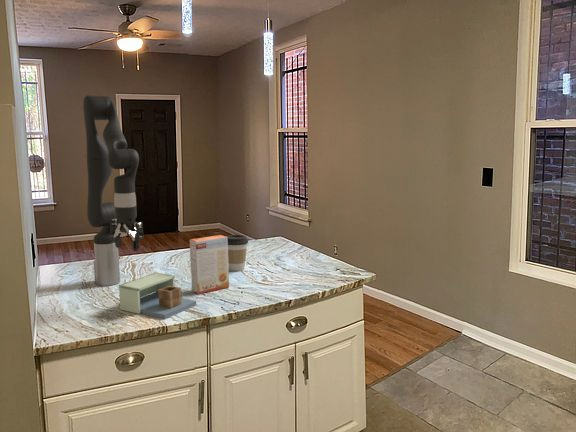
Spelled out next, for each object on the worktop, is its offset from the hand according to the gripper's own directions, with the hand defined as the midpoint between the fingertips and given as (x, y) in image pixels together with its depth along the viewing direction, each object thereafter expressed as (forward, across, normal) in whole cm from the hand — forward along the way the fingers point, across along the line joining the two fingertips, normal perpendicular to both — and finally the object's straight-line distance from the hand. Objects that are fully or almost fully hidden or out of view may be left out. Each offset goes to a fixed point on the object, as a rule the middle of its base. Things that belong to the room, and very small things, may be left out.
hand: (127, 248), depth 184 cm
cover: (+19, -10, 0) cm, 21 cm away
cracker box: (+19, -19, -25) cm, 36 cm away
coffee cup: (+20, -11, -54) cm, 58 cm away
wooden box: (+18, -20, 0) cm, 27 cm away
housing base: (+19, -15, 0) cm, 25 cm away
